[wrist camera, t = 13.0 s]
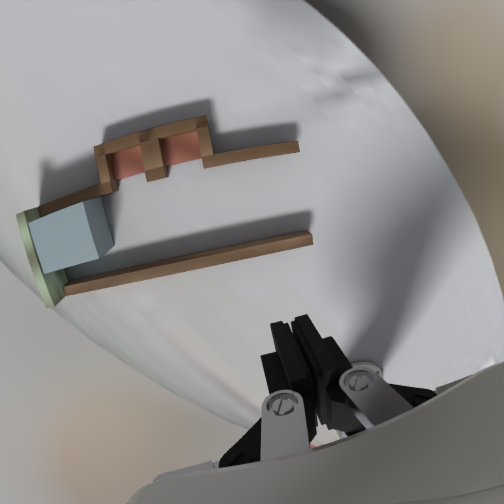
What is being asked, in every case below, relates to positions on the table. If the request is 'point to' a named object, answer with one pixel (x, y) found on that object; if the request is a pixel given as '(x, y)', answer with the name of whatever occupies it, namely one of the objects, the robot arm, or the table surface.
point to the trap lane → (155, 167)
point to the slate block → (72, 235)
